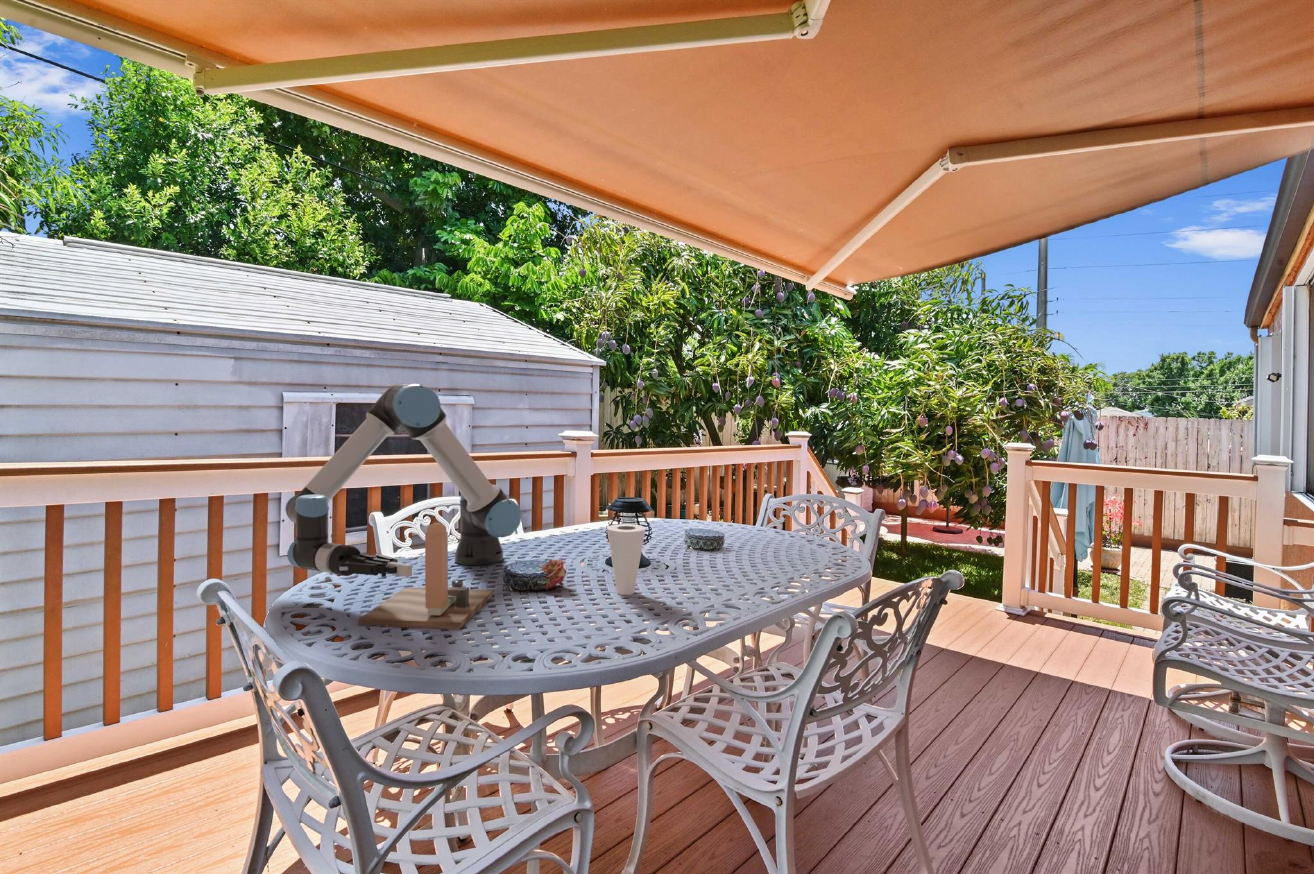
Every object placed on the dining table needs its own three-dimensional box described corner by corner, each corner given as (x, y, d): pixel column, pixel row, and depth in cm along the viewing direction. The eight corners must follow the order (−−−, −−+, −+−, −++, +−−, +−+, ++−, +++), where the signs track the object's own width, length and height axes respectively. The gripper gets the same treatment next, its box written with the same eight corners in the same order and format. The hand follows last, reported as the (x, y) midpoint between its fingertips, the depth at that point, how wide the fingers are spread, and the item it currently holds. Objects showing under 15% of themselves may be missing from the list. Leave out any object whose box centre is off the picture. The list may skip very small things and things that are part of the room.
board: (405, 592, 185) (405, 587, 185) (493, 595, 184) (493, 590, 184) (358, 625, 159) (358, 619, 159) (460, 629, 158) (459, 622, 158)
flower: (562, 574, 200) (546, 554, 197) (581, 574, 193) (565, 553, 191) (541, 598, 194) (525, 578, 191) (560, 599, 187) (544, 578, 185)
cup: (598, 592, 189) (598, 527, 187) (625, 584, 196) (626, 522, 195) (625, 600, 181) (626, 533, 180) (652, 592, 189) (653, 528, 188)
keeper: (447, 592, 181) (447, 576, 180) (480, 593, 180) (480, 577, 180) (431, 606, 169) (431, 589, 169) (465, 607, 169) (465, 590, 168)
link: (451, 591, 181) (450, 509, 180) (468, 591, 181) (468, 509, 180) (423, 617, 161) (423, 524, 160) (443, 617, 161) (442, 524, 159)
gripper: (360, 568, 182) (428, 579, 172) (317, 580, 170) (389, 593, 160) (359, 540, 181) (428, 550, 172) (317, 550, 169) (388, 561, 160)
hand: (409, 570), depth 166 cm, fingers closed
